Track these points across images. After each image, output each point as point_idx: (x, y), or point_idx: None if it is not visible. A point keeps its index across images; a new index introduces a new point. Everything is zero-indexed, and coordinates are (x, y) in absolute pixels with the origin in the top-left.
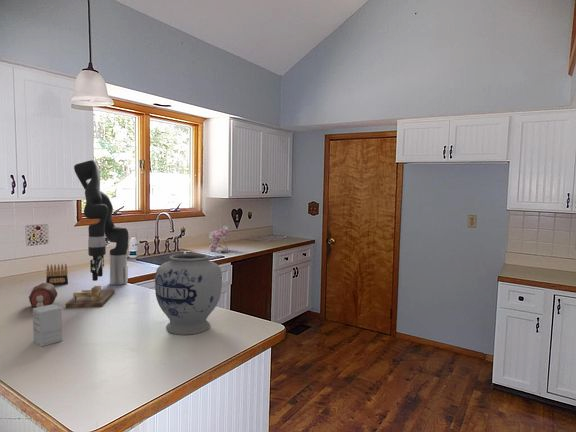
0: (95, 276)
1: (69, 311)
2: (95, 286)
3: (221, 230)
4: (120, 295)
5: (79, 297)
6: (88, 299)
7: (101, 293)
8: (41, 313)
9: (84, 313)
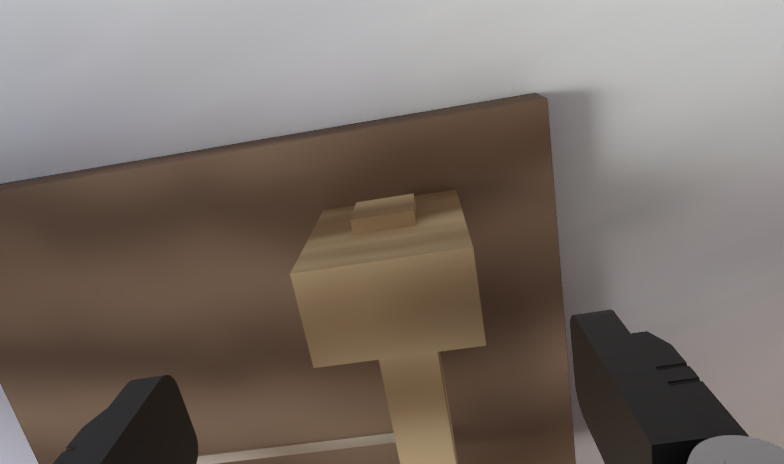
0: (705, 397)
1: (683, 354)
2: (344, 341)
3: None
4: (23, 75)
5: (338, 438)
6: None
7: (135, 286)
8: None
9: (779, 181)
